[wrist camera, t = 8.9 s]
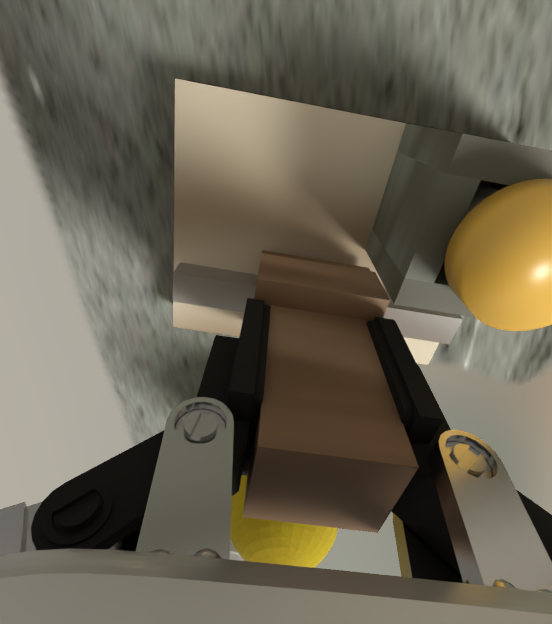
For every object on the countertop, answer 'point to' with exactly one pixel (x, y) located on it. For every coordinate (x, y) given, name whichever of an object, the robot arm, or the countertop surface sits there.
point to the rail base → (324, 203)
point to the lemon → (277, 537)
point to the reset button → (505, 256)
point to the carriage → (325, 401)
